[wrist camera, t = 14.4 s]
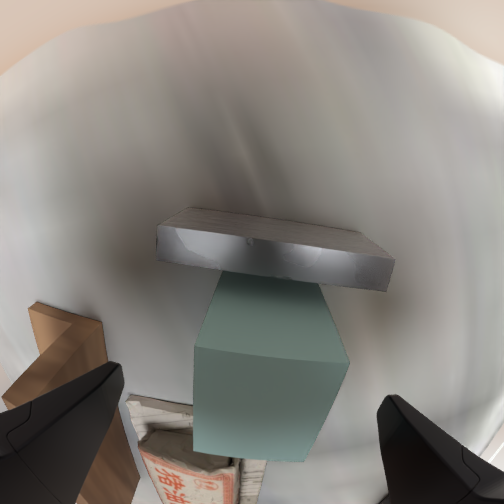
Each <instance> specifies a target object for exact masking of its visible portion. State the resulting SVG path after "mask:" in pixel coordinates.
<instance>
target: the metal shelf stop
mask: <svg viewBox="0 0 504 504" xmlns="http://www.w3.org/2000/svg"><path fill="white" fill-rule="evenodd" d="M156 260H158V261H164V262H171V263H177V264H184V265H190V266H197V267H203V268H210V269H217V270H224V271H231V272H238V273H245V274H252V275H259V276H266V277H273V278H281V279H288V280H296V281H304V282H311V283H319V284H327V285H335V286H343V287H352V288H360V289H369V290H377V291H387V287H388V284H389V281H390V277H391V274H392V270H393V267H394V263H395V259H394V258H393V257H392V256H391V255H389V254H388V253H387V252H386V251H384V250H383V249H382V248H380V247H379V246H378V245H376V244H375V243H374V242H373V241H371V240H370V239H369V238H367V237H366V236H365V235H363V234H362V233H361V232H355V231H349V230H343V229H337V228H331V227H325V226H319V225H313V224H306V223H300V222H293V221H287V220H280V219H273V218H266V217H259V216H252V215H245V214H237V213H230V212H222V211H214V210H206V209H198V208H190V207H188V208H186V209H184V210H183V211H181V212H179V213H177V214H176V215H174V216H172V217H170V218H169V219H167V220H165V221H164V222H162V223H160V224H159V225H157V243H156Z"/></svg>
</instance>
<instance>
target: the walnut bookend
mask: <svg viewBox="0 0 504 504" xmlns="http://www.w3.org/2000/svg"><path fill="white" fill-rule="evenodd" d="M28 311H29V315H30V320H31V324H32V328H33V332H34V335H35V339H36V343H37V346H38V349H39V353H40V356H39V357H38V358H37V359H36V360H35V361H34V362H33V363H32V364H31V365H30V366H29V368H28V369H27V370H26V371H25V372H24V373H23V374H22V375H21V376H20V377H19V378H18V379H17V380H16V381H15V382H14V383H13V385H12V386H11V387H10V388H9V389H8V390H7V391H6V392H5V393H4V394H3V396H2V399H3V401H4V403H5V405H6V407H7V409H8V410H10V409H13V408H15V407H17V406H20V405H22V404H24V403H26V402H28V401H30V400H31V401H32V400H33V399H35V398H37V397H39V396H41V395H43V394H45V393H47V392H49V391H51V390H53V389H55V388H57V387H59V386H61V385H63V384H65V383H67V382H69V381H71V380H73V379H75V378H77V377H79V376H81V375H83V374H85V373H87V372H89V371H91V370H93V369H95V368H97V367H99V366H101V365H103V364H104V363H106V362H108V359H107V353H106V347H105V341H104V334H103V327H102V322H99V321H96V320H92V319H89V318H85V317H82V316H78V315H75V314H72V313H68V312H65V311H62V310H59V309H56V308H53V307H50V306H47V305H44V304H41V303H38V302H36V303H35V304H33V305H32V306H30V307H29V308H28ZM139 479H140V476H139V473H138V470H137V468H136V465H135V462H134V459H133V456H132V453H131V450H130V447H129V444H128V441H127V438H126V434H125V431H124V427H123V424H122V420H121V417H120V413H119V409H118V405H117V408H116V411H115V414H114V417H113V420H112V423H111V425H110V427H109V429H108V431H107V433H106V435H105V438H104V440H103V442H102V444H101V446H100V448H99V450H98V453H97V455H96V457H95V459H94V461H93V464H92V466H91V468H90V470H89V472H88V475H87V477H86V479H85V482H84V484H83V486H82V489H81V491H80V493H79V496H78V498H77V500H76V503H77V504H131V502H132V499H133V496H134V494H135V491H136V488H137V485H138V482H139Z"/></svg>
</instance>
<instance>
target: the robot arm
mask: <svg viewBox="0 0 504 504" xmlns="http://www.w3.org/2000/svg"><path fill="white" fill-rule="evenodd" d="M123 388H124V377H123V371H122V366H121V364H119V363H116V362H112V361H109V362H106V363H104V364H103V365H101V366H99V367H97V368H95V369H93V370H91V371H89V372H87V373H85V374H83V375H81V376H79V377H77V378H75V379H73V380H71V381H69V382H67V383H65V384H63V385H61V386H59V387H57V388H55V389H53V390H51V391H49V392H47V393H45V394H43V395H41V396H39V397H37V398H35V399H33V400H32V401H31V400H30V401H28V402H26V403H24V404H22V405H20V406H17V407H15V408H13V409H10V410H7V411H5V412H2V413H0V504H75V503H76V500H77V498H78V496H79V493H80V491H81V489H82V486H83V484H84V482H85V479H86V477H87V475H88V472H89V470H90V468H91V466H92V464H93V461H94V459H95V457H96V455H97V453H98V450H99V448H100V446H101V444H102V442H103V440H104V438H105V435H106V433H107V431H108V429H109V427H110V425H111V423H112V420H113V417H114V414H115V411H116V408H117V405H118V402H119V399H120V396H121V394H122V391H123ZM377 423H378V432H379V442H380V450H381V456H382V461H383V465H384V470H385V475H386V480H387V486H388V491H389V496H388V497H387V498H385V499H384V500H383V501H382V502H381V503H380V504H504V472H503V471H501V470H500V469H498V468H496V467H495V466H493V465H491V464H489V463H488V462H486V461H484V460H483V459H481V458H480V457H478V456H477V455H475V454H474V453H473V452H471V451H470V450H468V449H467V448H466V447H464V446H463V445H461V444H460V443H459V442H458V441H457V440H455V439H454V438H453V437H451V436H450V435H449V434H447V433H446V432H445V431H443V430H442V429H441V428H440V427H438V426H437V425H436V424H434V423H433V422H432V421H431V420H429V419H428V418H427V417H425V416H424V415H423V414H422V413H420V412H419V411H418V410H416V409H415V408H414V407H413V406H411V405H410V404H409V403H408V402H406V401H405V400H404V399H402V398H401V397H400V396H399V395H396V394H395V395H387V396H386V397H385V398H384V400H383V402H382V404H381V405H380V407H379V409H378V411H377Z"/></svg>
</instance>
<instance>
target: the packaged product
mask: <svg viewBox="0 0 504 504" xmlns="http://www.w3.org/2000/svg"><path fill="white" fill-rule="evenodd" d="M125 402H126V404H127V406H128V409H129V412H130V419H131V421H132V424H133V426H134V429H135V431H136V433H137V436H138V438H139V441H138V449H139V451H140V454H141V456H142V459H143V462H144V464H145V466H146V469H147V471H148V474H149V476H150V478H151V480H152V482H153V484H154V486H155V488H156V490H157V492H158V494H159V497H160V498H161V501H162V502H163V504H256V503H257V499H258V495H259V491H260V488H261V484H262V480H263V475H264V470H265V466H266V462H267V460H254V459H244V458H235V457H227V456H220V455H213V454H207V453H202V452H196V451H193V406H188V405H182V404H176V403H170V402H165V401H160V400H156V399H152V398H148V397H142V396H136V395H130V396H129V398H128V399H127V400H126V401H125Z"/></svg>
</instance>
